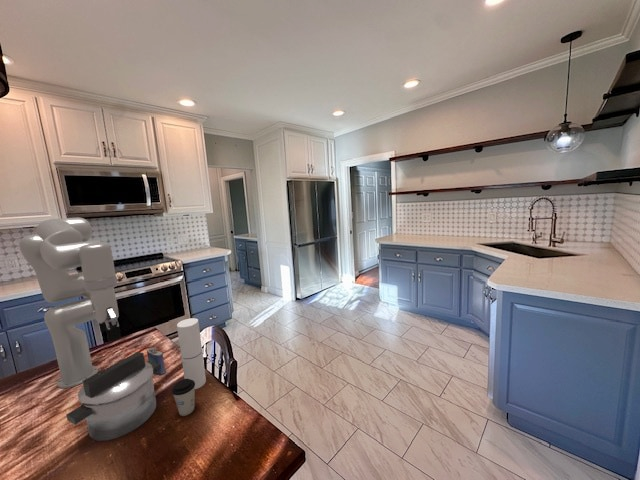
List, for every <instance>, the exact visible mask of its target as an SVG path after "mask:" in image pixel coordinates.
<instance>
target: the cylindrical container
mask: <svg viewBox="0 0 640 480" xmlns="http://www.w3.org/2000/svg"><path fill="white" fill-rule="evenodd" d="M176 329H177V336H178V343H179V348H180V349H179V351H180V357H181V363H182V371H183V377H184V378H183V379H190V380H193V381H194V382H195V390H197V389H200V388H201V387H203V386H205V384H206V382H207V377H206V370H205V363H204V361H205V360H204V355H203V354H204V353H203V348H202V347H203V346H202V340H201V339H202V337H201V330H200V324H199V319H198V318H194V317H191V318H186V319H182V320H181V321H179V322H178V323H177V325H176Z"/></svg>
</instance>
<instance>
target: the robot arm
mask: <svg viewBox="0 0 640 480" xmlns="http://www.w3.org/2000/svg"><path fill="white" fill-rule="evenodd" d="M35 231H36V233H35V234H31V235H26V236H24V237H22V238H20V240H19V243H18V246H19V251H20V253H21V255H22V256H23V258H24V259H25V261H26V262H27V263H28V264H29V265H30V266H31V268H32V269H33V270H34V272H35V276H36V279H37V281H38V285H39V289H40V291H41V294H42V296H43V299H44V300H45V302H48V303H50V304H54V303H59V302H64V301H67V300H71V299H74V298H75V299H76V298H79V297H83V298H82V299H79V300H74V301H70V302H67V303H63V304H60V305H59V304H58V305H57V306H54V307H51V308H50V309H48V310H47V311H45V314H44V317H43V318H44V322H45V325H46V327H47V329H48V331H49V333H50V336H51V339H52V343H53V347H54V352H55V356H56V360H57V365H58V370H59V374H60V378H58V380H57V381H56V386H57V388H59V389H68V388H72V387H77V386H79V385H81V384H83V380H85V379H87V378H89V377H91V376H93V375H95V374H97V373H98V372H99V368H98V366H96V365H93V363H92V358H91V353H90V352H91V351H90V349H89V342H88V339H87V335H86V332H85V331H84V330H83V329H80V328H78V327H77V326H79V325H82V324H85V323H87V322H90V321H93V320H96V322H97V323H98V325H99V331H100V332H101V333H105V332H106V338H107V341H108V342H109V343H111V342H113V341H114V342H115V341H117V340H120V339H121V338H122V334H121V328H120V327H121V326H120V324H119V321H118V318H119V317H120V315H119V314H120V313H119V307H118V301H117V297H116V293H115V292H116V291H115V287H117V286H118V281H117V275H116V270H115V263H114V257H113V252H112V246H111V245H110V244H109V243H107V242H103V241H102V240H99V239H98V240H95V239H94V240H91V239H90V238H91V237H92V233H93V229H92V225H91V223H90V222H89V221H88V220H87V219H85V218H83V217H64V218H51V219H47V220H43V221H41V222H40V223H39V224H38V225H37V226H36V229H35ZM74 268H81V272H77V273H73V274H69V273H68V271H67V270H70V269H74Z"/></svg>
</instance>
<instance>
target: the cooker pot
mask: <svg viewBox="0 0 640 480" xmlns="http://www.w3.org/2000/svg"><path fill="white" fill-rule="evenodd" d="M150 364H151V365H152V367H153V375H155V374H154V373H156V372H157V371H159V370H160V369H161V366H160V364H158V363H155V362H152V363H150ZM153 381H154V380H153V376H152V377H151V378H150V380H149V381H148V382H147V383H146V384H145V385H144V386H142V387H141V388H140V389H138V390H137V391H135V392H134V393H132V394H130V395H128V396H126V397H124V398H122V399H120V400H117V401H114V402H111V403H108V404H104V405H98V406H87V405H83V404H81V405H80V406H78V407H76V408H74V409H73V410H71V411H70V412H68V413H66V414H65V415H66V419H67V422H68V423H71V424H73V425H74V426H76V425H77V424H79V423H81V422H82V421H84V420H85V421H86V426H87V430H88V434H89V437H90V438H91V439H93V440H94V441H98V442H99V441H101V442H103V441H104V442H105V441H109V440H113V439H114V440H115V439H118V438H120V437H122V436H125V435H127V434H130V433H132V432H133V431H134V430H136V429H137V428H139V427H140V426H142V425H144V423H146V421H148V419H150V417H151V416H152V415H153V414H154V412H155V411H156V409H157V398H156V393H155V387H154V382H153Z"/></svg>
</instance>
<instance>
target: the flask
mask: <svg viewBox="0 0 640 480" xmlns="http://www.w3.org/2000/svg"><path fill="white" fill-rule="evenodd" d="M156 349H157V347H156V346H155V347H150V348H148V349H147V350H146V353H147V354H146V355H147V360H148V361H147V362H148V363H152V362H155V363H158V364H160V366H161V369H160V370H159V371H157V372H156V373H154V374H153V375H158V376H163V375H164V374H165V373H166V366H165V361H164V360H165V359H164V353H163V352H161V351H158V350H156Z"/></svg>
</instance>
